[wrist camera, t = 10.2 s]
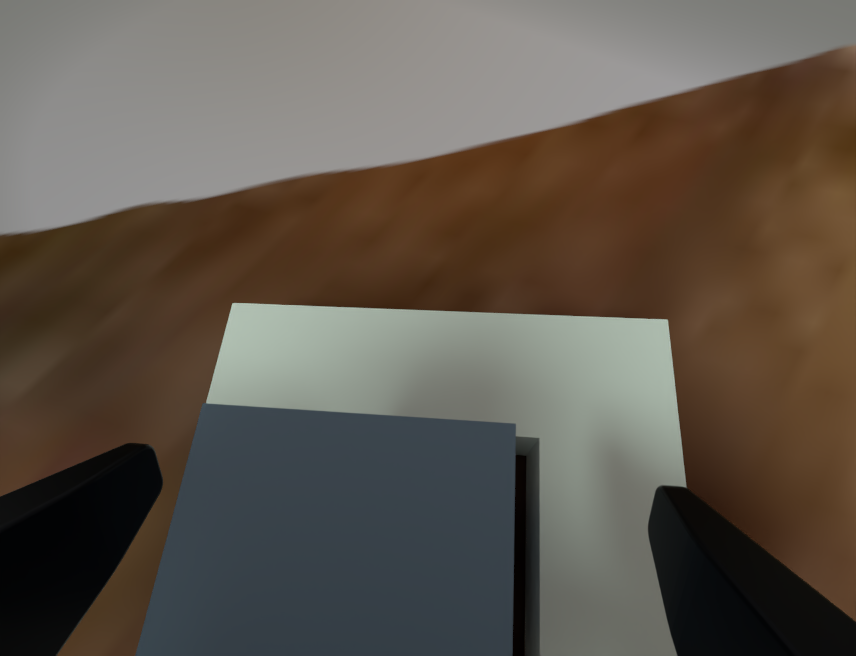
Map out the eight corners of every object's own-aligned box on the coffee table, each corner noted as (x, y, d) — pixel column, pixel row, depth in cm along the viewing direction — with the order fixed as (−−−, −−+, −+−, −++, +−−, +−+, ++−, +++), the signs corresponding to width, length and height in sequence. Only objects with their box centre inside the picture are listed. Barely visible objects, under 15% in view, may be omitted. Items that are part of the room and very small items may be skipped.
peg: (491, 487, 17) (516, 423, 6) (487, 617, 15) (508, 880, 4) (381, 478, 17) (202, 403, 6) (366, 602, 16) (96, 804, 5)
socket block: (628, 360, 18) (667, 319, 14) (665, 853, 13) (743, 991, 9) (278, 343, 20) (232, 303, 16) (186, 770, 14) (85, 856, 11)
